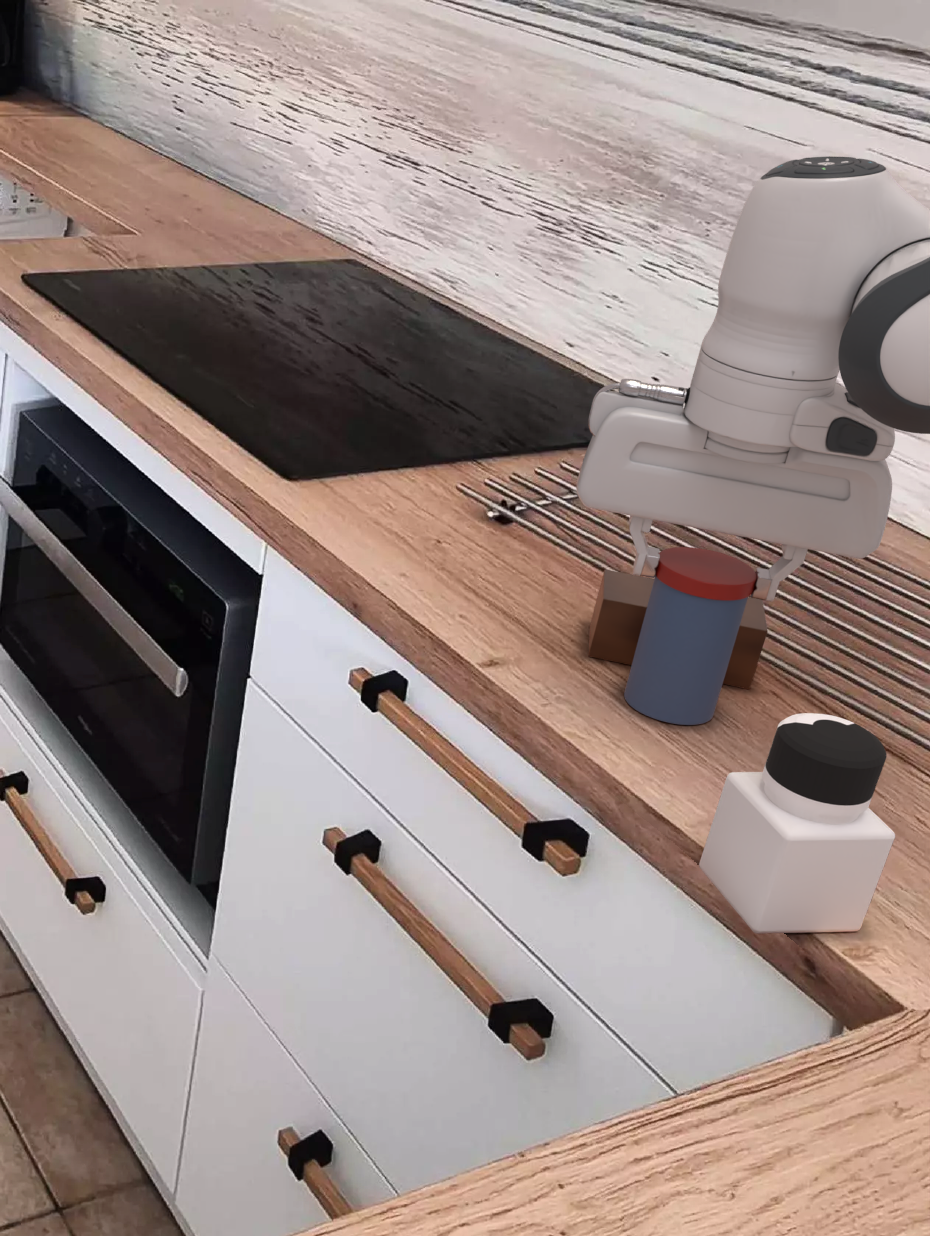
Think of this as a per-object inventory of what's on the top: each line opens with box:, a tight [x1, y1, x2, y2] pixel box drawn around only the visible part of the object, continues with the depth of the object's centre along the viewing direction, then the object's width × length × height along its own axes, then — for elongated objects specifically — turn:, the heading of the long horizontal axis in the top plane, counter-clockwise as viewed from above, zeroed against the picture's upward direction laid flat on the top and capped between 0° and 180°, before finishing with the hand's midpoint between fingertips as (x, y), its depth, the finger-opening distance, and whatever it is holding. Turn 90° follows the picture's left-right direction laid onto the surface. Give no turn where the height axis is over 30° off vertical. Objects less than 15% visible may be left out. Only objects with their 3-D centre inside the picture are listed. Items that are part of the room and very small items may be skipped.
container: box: [623, 546, 757, 726], centre depth 126 cm, size 7×12×12 cm
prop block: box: [587, 569, 769, 690], centre depth 134 cm, size 12×6×5 cm, turn 73°
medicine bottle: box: [698, 712, 896, 935], centre depth 103 cm, size 7×7×12 cm
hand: (702, 585), depth 124 cm, fingers closed on container, 7 cm apart
